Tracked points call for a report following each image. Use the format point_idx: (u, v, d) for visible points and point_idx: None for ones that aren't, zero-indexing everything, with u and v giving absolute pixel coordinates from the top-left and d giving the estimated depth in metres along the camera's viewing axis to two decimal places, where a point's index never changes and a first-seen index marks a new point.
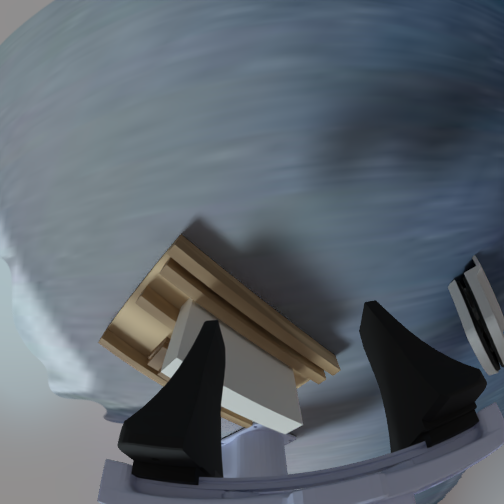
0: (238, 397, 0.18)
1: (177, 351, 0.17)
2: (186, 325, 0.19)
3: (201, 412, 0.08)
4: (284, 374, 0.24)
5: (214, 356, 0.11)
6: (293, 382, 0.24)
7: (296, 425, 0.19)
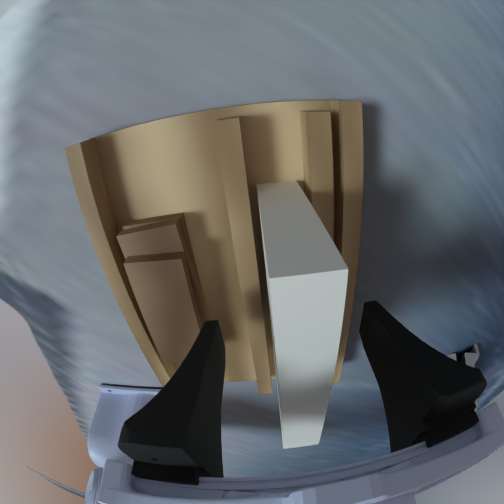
0: (324, 387, 0.09)
1: (334, 254, 0.07)
2: (317, 217, 0.10)
3: (201, 412, 0.08)
4: None
5: (214, 356, 0.11)
6: None
7: (312, 442, 0.13)
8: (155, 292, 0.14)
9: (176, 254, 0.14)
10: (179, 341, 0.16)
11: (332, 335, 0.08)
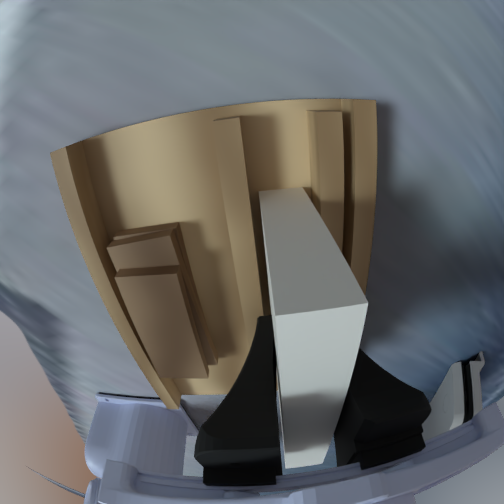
0: (331, 416, 0.08)
1: (351, 283, 0.06)
2: (329, 233, 0.09)
3: (276, 408, 0.08)
4: None
5: (274, 351, 0.11)
6: None
7: (315, 462, 0.11)
8: (149, 307, 0.13)
9: (171, 268, 0.13)
10: (176, 357, 0.15)
11: (344, 370, 0.07)
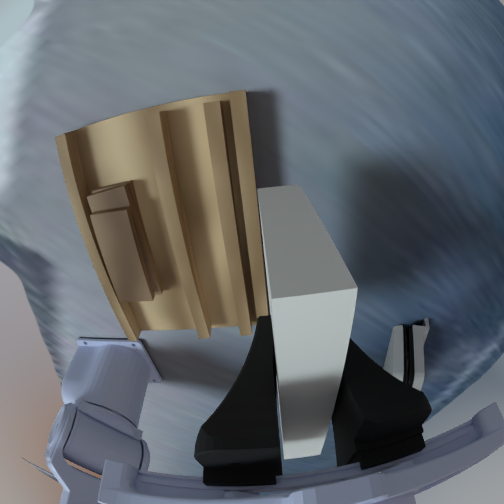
0: (327, 403, 0.09)
1: (342, 270, 0.07)
2: (323, 226, 0.09)
3: (276, 408, 0.08)
4: None
5: (274, 351, 0.11)
6: None
7: (313, 453, 0.12)
8: (110, 237, 0.19)
9: (124, 207, 0.18)
10: (129, 279, 0.21)
11: (338, 354, 0.07)
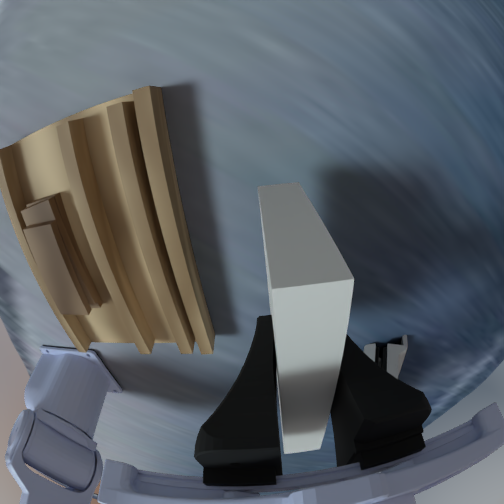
0: (326, 395, 0.09)
1: (339, 262, 0.07)
2: (321, 222, 0.09)
3: (276, 408, 0.08)
4: None
5: (274, 351, 0.11)
6: None
7: (313, 448, 0.12)
8: (42, 251, 0.16)
9: (50, 221, 0.16)
10: (64, 293, 0.18)
11: (336, 345, 0.08)
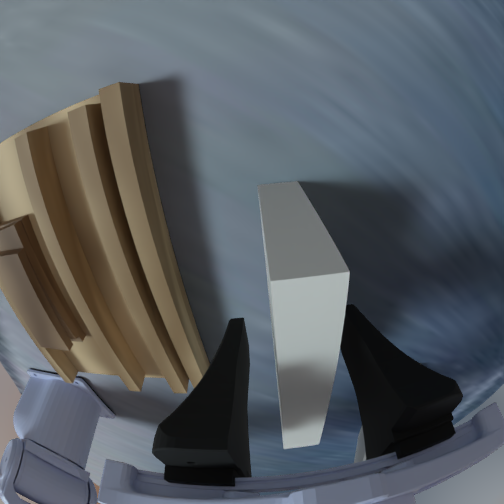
0: (324, 388, 0.09)
1: (335, 256, 0.07)
2: (319, 219, 0.10)
3: (236, 411, 0.08)
4: None
5: (242, 354, 0.11)
6: None
7: (312, 443, 0.13)
8: (13, 282, 0.13)
9: (18, 250, 0.12)
10: (41, 327, 0.15)
11: (333, 337, 0.08)
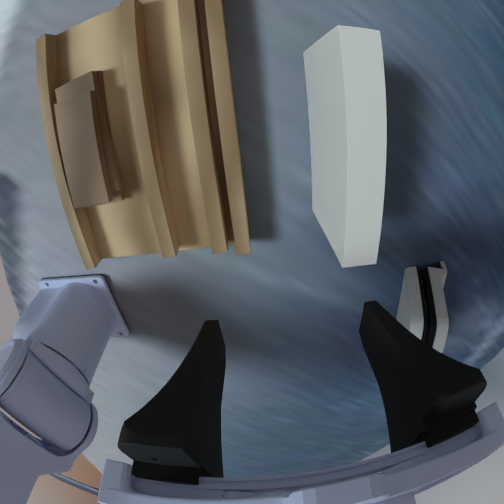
0: (380, 139, 0.11)
1: None
2: None
3: (201, 412, 0.08)
4: None
5: (214, 356, 0.11)
6: None
7: (370, 258, 0.14)
8: (71, 125, 0.14)
9: None
10: (85, 176, 0.16)
11: (379, 76, 0.10)
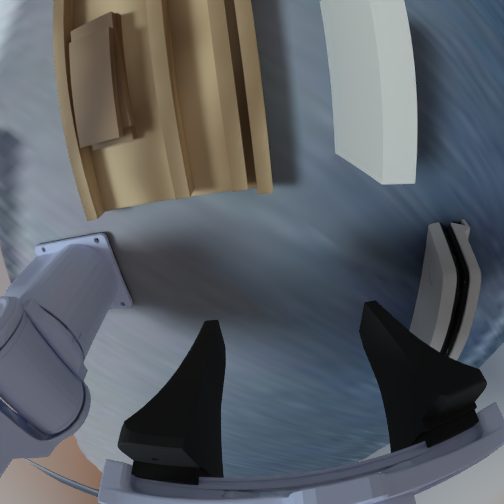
0: (408, 53, 0.09)
1: None
2: None
3: (201, 412, 0.08)
4: None
5: (214, 356, 0.11)
6: None
7: (409, 176, 0.12)
8: (85, 60, 0.12)
9: None
10: (95, 110, 0.14)
11: (399, 1, 0.07)
